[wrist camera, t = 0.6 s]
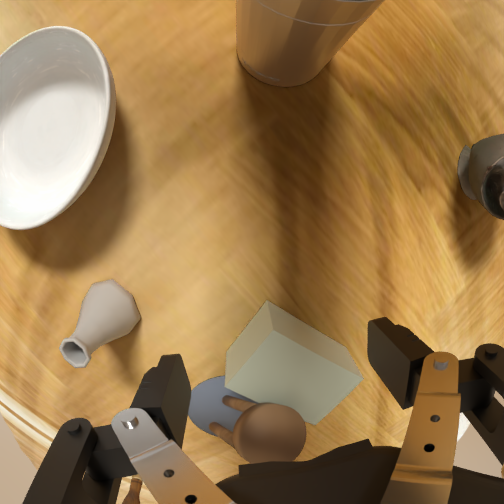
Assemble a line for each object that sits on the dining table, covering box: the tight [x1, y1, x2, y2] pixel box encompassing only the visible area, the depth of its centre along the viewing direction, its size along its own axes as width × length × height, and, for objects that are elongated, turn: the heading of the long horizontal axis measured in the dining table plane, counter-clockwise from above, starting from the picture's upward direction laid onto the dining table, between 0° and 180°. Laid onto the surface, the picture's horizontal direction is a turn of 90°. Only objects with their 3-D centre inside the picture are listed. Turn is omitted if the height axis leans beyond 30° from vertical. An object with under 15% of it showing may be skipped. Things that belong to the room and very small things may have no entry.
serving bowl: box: [0, 26, 116, 230], centre depth 23 cm, size 21×21×7 cm
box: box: [225, 300, 364, 425], centre depth 31 cm, size 8×12×6 cm, turn 55°
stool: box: [209, 395, 306, 464], centre depth 29 cm, size 12×7×13 cm, turn 145°
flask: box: [59, 279, 141, 368], centre depth 27 cm, size 7×7×10 cm
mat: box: [188, 376, 259, 436], centre depth 36 cm, size 13×13×1 cm
